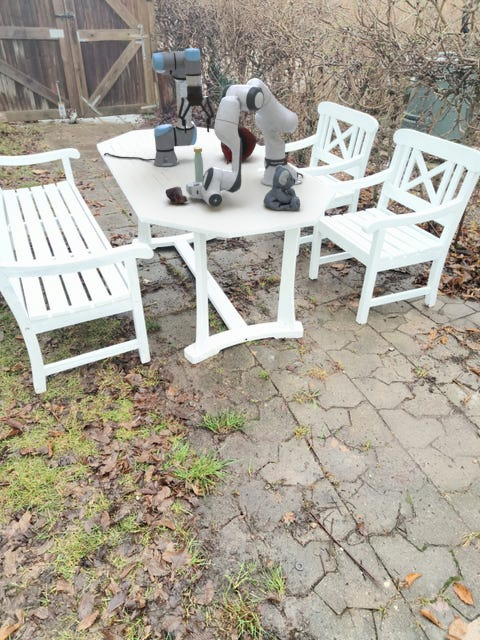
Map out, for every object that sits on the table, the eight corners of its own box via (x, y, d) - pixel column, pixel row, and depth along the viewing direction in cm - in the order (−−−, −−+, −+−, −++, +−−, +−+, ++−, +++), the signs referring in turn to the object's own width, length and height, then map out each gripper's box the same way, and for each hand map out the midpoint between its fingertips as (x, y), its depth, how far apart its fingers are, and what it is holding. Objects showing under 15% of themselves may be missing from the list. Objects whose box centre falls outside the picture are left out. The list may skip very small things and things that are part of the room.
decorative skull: (217, 132, 306) (217, 129, 282) (251, 124, 305) (253, 121, 281) (224, 164, 313) (224, 164, 289) (257, 157, 312) (260, 156, 288)
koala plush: (301, 211, 222) (304, 171, 211) (265, 212, 221) (266, 172, 210) (295, 199, 236) (297, 161, 225) (261, 200, 235) (262, 162, 224)
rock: (181, 200, 240) (163, 203, 236) (179, 183, 237) (161, 186, 232) (189, 203, 231) (171, 206, 227) (188, 186, 227) (169, 189, 223)
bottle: (199, 191, 248) (197, 150, 236) (194, 189, 251) (191, 148, 238) (205, 190, 251) (203, 148, 238) (201, 188, 253) (198, 147, 241)
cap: (197, 152, 236) (197, 149, 235) (192, 151, 239) (192, 148, 238) (203, 151, 239) (203, 148, 238) (198, 149, 241) (198, 146, 241)
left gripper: (216, 83, 226) (218, 129, 238) (169, 85, 222) (173, 131, 235) (218, 85, 220) (220, 132, 232) (170, 87, 216) (174, 135, 229)
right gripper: (227, 182, 232) (220, 174, 243) (188, 186, 228) (183, 178, 239) (227, 194, 236) (221, 186, 247) (189, 198, 231) (184, 190, 242)
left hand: (196, 132), depth 234 cm, fingers open, 11 cm apart
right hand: (202, 182), depth 243 cm, fingers open, 8 cm apart
